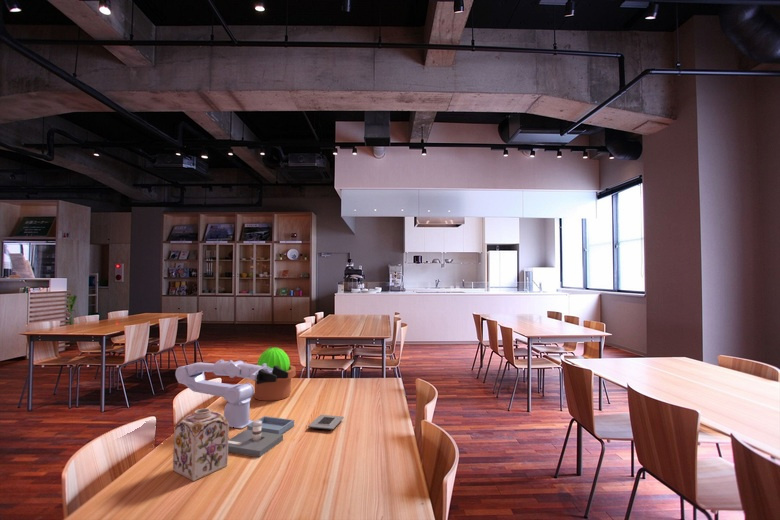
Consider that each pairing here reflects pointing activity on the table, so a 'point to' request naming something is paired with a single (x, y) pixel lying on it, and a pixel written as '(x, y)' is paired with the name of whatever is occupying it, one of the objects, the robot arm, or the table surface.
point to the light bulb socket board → (253, 443)
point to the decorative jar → (200, 444)
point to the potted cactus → (282, 385)
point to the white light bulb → (256, 430)
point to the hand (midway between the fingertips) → (282, 377)
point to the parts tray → (274, 425)
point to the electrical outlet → (326, 422)
